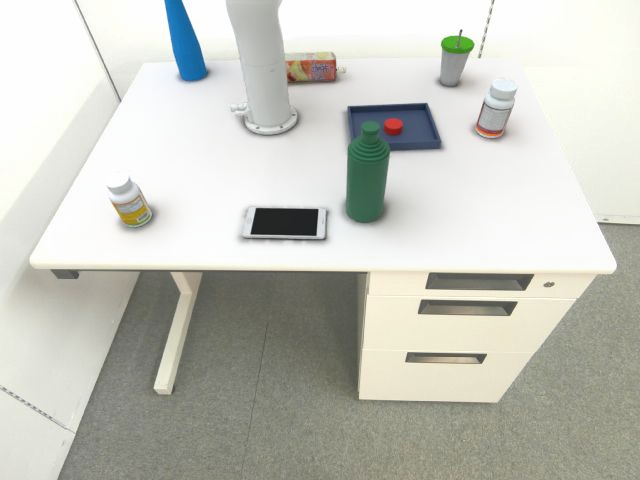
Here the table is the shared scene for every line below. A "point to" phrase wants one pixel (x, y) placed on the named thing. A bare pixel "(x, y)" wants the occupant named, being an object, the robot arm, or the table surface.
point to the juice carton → (310, 66)
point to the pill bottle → (496, 108)
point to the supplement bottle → (128, 200)
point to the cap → (393, 126)
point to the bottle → (184, 42)
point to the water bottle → (367, 174)
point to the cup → (454, 58)
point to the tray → (415, 126)
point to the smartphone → (285, 223)
